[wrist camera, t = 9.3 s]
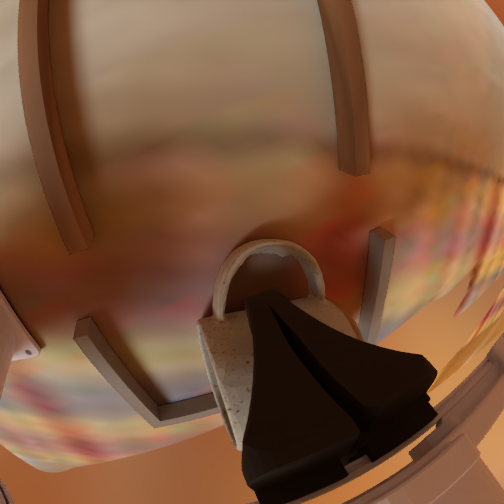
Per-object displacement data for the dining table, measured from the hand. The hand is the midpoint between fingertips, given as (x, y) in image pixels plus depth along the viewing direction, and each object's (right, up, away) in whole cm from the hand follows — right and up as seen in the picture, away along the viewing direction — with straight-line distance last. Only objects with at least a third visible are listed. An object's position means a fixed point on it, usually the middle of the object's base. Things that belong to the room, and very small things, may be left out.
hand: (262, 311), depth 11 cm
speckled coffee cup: (0, -1, +6) cm, 6 cm away
